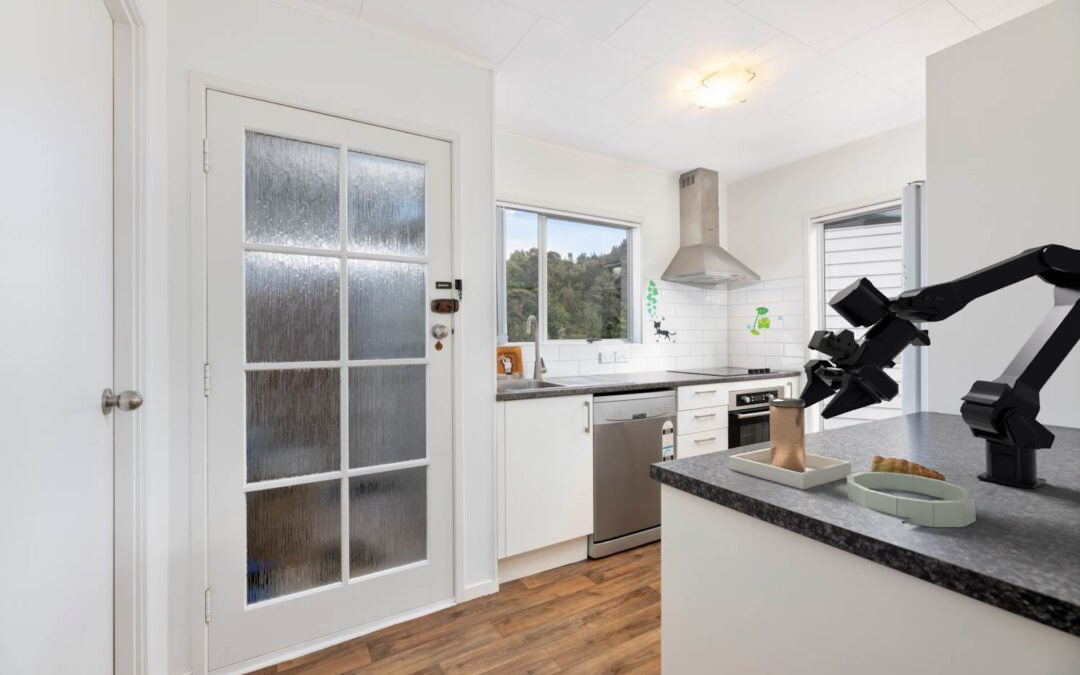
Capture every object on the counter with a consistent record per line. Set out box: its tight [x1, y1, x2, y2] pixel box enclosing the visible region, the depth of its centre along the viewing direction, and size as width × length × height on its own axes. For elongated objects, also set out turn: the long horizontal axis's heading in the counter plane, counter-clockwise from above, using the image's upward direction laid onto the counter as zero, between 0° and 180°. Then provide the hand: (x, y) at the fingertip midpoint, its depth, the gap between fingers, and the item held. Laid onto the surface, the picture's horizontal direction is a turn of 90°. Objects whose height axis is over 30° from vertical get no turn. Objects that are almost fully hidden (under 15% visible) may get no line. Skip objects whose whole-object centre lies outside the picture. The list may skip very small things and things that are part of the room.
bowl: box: [846, 471, 977, 528], centre depth 63 cm, size 13×13×3 cm
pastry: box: [869, 455, 946, 482], centre depth 74 cm, size 9×7×4 cm
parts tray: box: [728, 447, 852, 490], centre depth 78 cm, size 13×13×3 cm
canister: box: [768, 397, 806, 473], centre depth 78 cm, size 5×5×12 cm
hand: (809, 412), depth 78 cm, fingers open, 9 cm apart
